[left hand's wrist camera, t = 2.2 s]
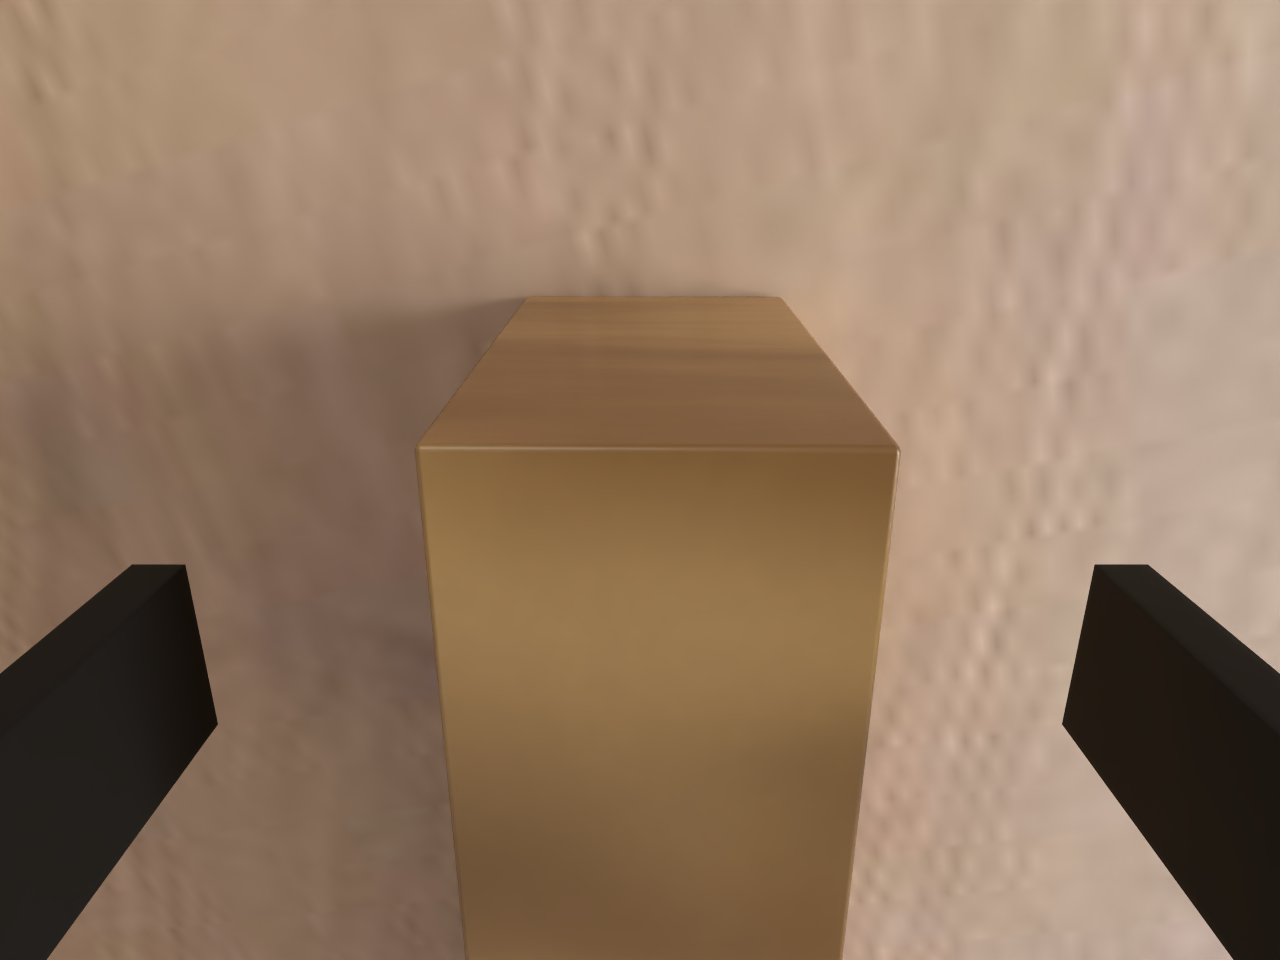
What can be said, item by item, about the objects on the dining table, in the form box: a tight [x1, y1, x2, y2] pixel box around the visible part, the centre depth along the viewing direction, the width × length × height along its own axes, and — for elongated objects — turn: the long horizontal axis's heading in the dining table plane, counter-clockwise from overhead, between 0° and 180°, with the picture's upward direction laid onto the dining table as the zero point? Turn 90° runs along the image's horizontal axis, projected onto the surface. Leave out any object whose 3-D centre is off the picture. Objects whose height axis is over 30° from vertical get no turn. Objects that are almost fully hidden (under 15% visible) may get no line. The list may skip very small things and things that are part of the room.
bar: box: [415, 297, 901, 960], centre depth 17 cm, size 22×5×9 cm, turn 0°
